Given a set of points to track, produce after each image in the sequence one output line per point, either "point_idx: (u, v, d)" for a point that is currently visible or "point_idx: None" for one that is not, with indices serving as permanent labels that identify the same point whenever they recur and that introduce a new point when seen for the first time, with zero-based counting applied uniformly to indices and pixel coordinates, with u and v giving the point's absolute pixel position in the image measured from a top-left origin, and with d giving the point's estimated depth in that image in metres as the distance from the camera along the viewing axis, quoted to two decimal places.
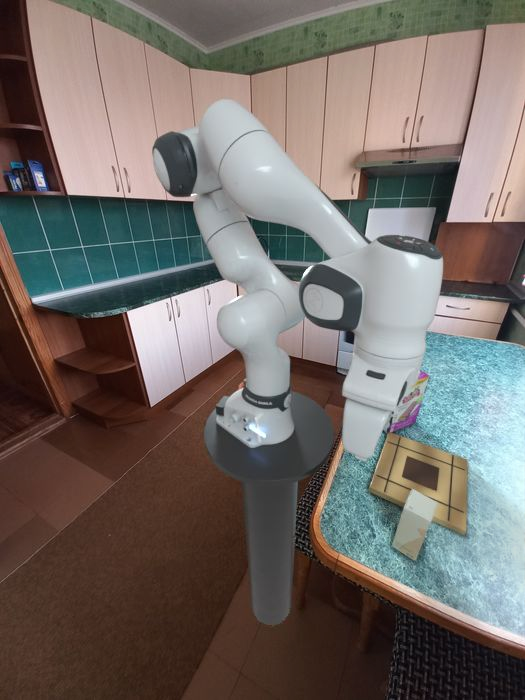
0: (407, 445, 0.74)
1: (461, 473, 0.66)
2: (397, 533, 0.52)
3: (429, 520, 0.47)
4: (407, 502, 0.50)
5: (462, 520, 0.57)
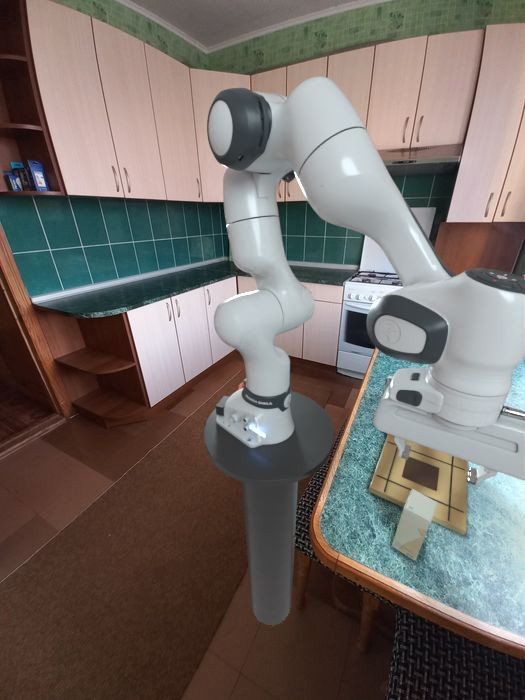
0: None
1: (461, 473, 0.66)
2: (397, 533, 0.52)
3: (429, 520, 0.47)
4: (407, 502, 0.50)
5: (462, 520, 0.57)
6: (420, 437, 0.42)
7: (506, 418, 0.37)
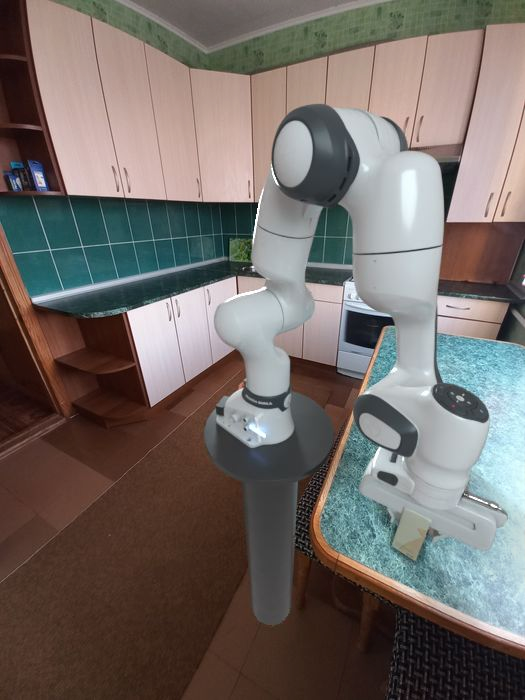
0: None
1: None
2: (397, 533, 0.52)
3: (429, 520, 0.47)
4: None
5: None
6: (397, 506, 0.50)
7: (466, 501, 0.44)
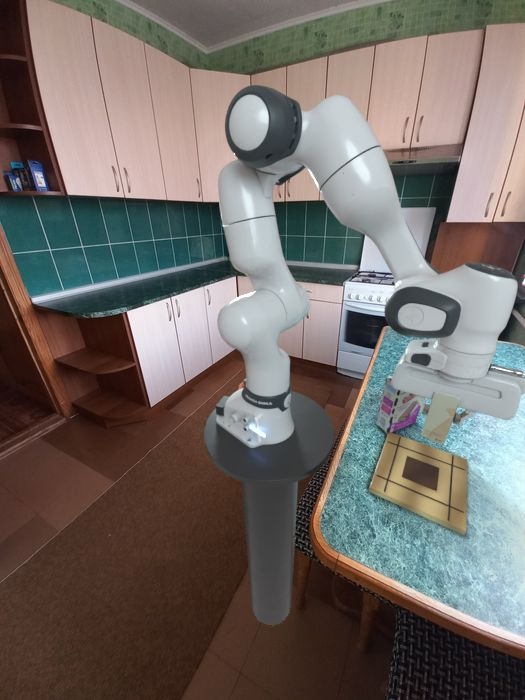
0: (407, 445, 0.74)
1: (461, 473, 0.66)
2: (426, 420, 0.57)
3: (458, 398, 0.52)
4: None
5: (462, 520, 0.57)
6: (428, 392, 0.55)
7: (493, 373, 0.49)
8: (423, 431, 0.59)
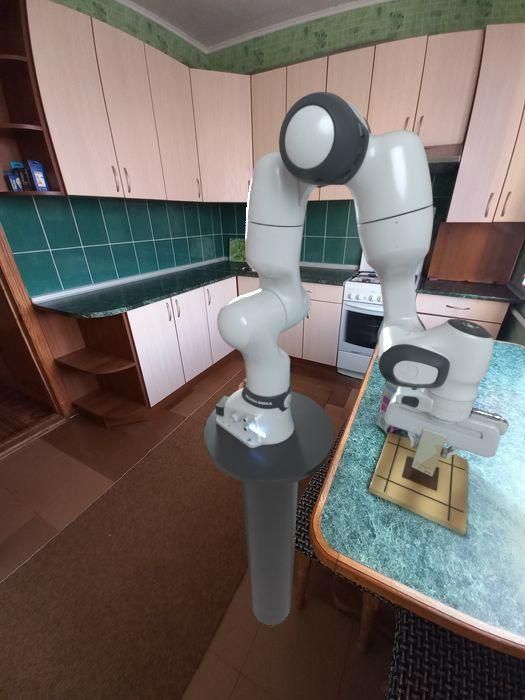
0: (407, 445, 0.74)
1: (461, 473, 0.66)
2: (416, 453, 0.63)
3: (444, 436, 0.58)
4: None
5: (462, 520, 0.57)
6: (417, 429, 0.61)
7: (475, 416, 0.55)
8: (414, 463, 0.64)
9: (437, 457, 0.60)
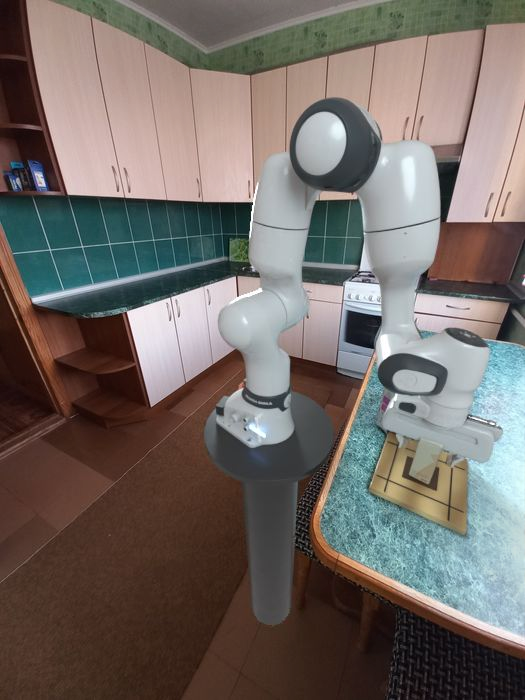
0: (407, 445, 0.74)
1: (461, 473, 0.66)
2: (413, 462, 0.64)
3: (440, 446, 0.59)
4: None
5: (462, 520, 0.57)
6: (414, 434, 0.62)
7: (470, 422, 0.56)
8: (411, 471, 0.65)
9: (433, 466, 0.61)
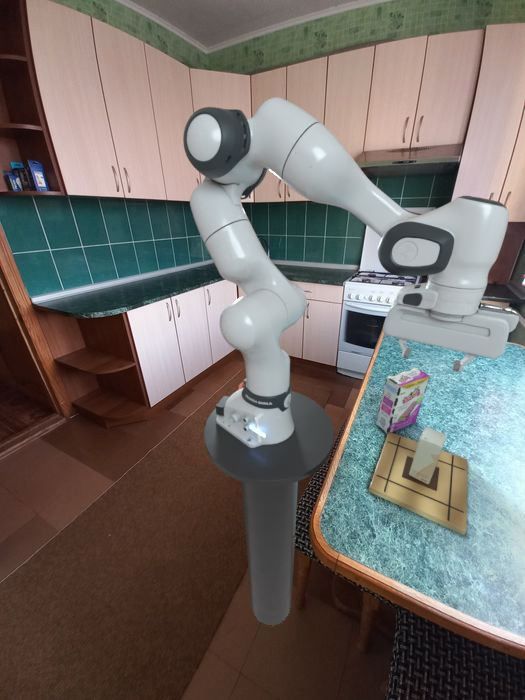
0: (407, 445, 0.74)
1: (461, 473, 0.66)
2: (413, 462, 0.64)
3: (440, 446, 0.59)
4: (422, 435, 0.62)
5: (462, 520, 0.57)
6: (419, 335, 0.56)
7: (483, 311, 0.50)
8: (411, 471, 0.65)
9: (433, 466, 0.61)
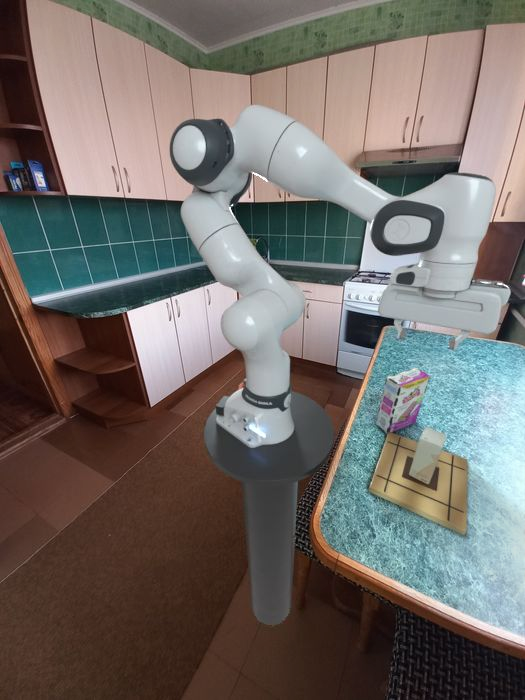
0: (407, 445, 0.74)
1: (461, 473, 0.66)
2: (413, 462, 0.64)
3: (440, 446, 0.59)
4: (422, 435, 0.62)
5: (462, 520, 0.57)
6: (413, 314, 0.57)
7: (475, 287, 0.51)
8: (411, 471, 0.65)
9: (433, 466, 0.61)
